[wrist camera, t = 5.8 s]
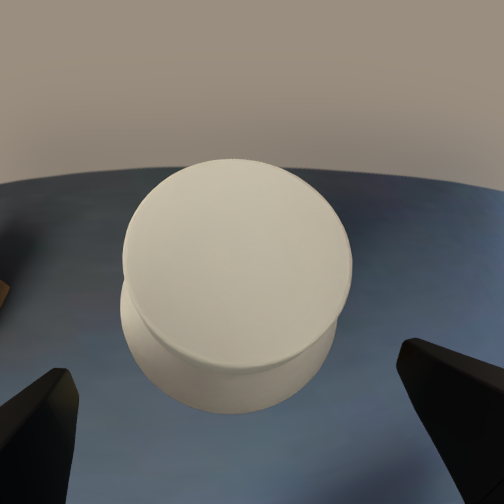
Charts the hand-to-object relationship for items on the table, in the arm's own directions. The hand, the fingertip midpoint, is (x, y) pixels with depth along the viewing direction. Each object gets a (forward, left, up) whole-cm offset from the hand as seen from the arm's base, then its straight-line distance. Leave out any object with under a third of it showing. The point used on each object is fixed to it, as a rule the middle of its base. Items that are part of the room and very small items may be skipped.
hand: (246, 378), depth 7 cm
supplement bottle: (+2, -2, -11) cm, 11 cm away
